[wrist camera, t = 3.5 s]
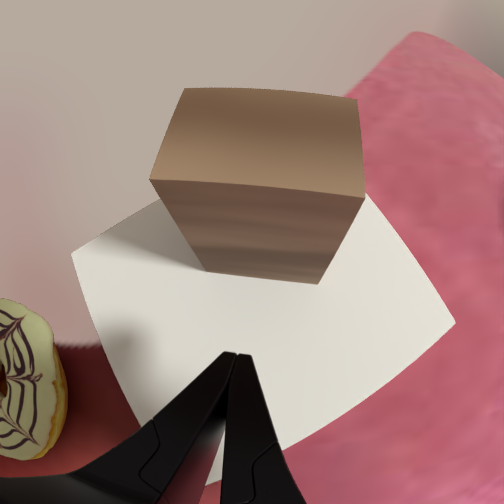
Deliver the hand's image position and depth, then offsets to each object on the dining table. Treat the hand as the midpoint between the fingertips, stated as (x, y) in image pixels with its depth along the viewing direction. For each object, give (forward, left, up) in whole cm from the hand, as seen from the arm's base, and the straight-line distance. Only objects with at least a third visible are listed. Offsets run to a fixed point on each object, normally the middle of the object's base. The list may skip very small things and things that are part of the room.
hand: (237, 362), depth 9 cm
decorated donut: (+5, +15, -8) cm, 18 cm away
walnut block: (+5, -4, -6) cm, 9 cm away
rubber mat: (+3, -2, -7) cm, 8 cm away
